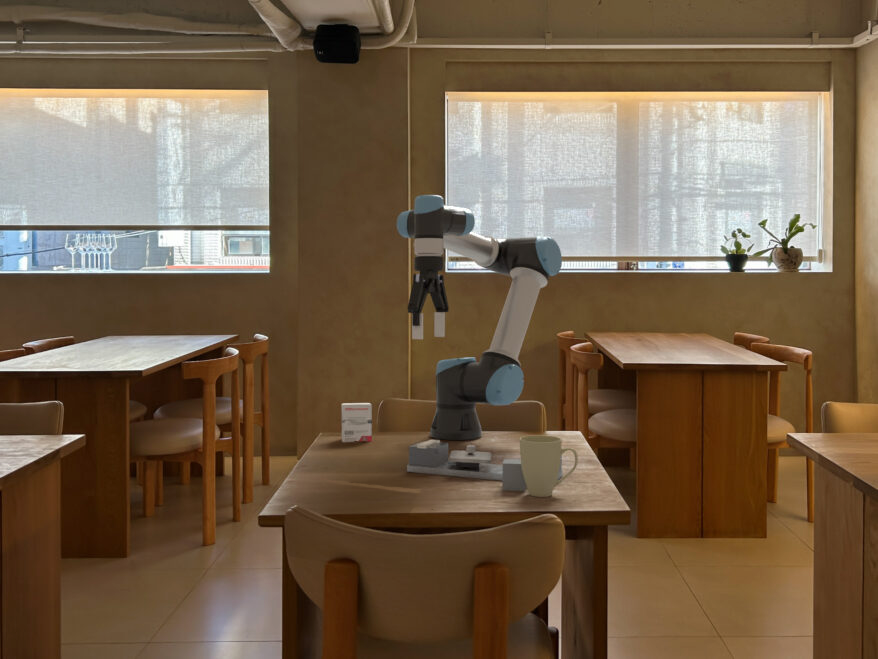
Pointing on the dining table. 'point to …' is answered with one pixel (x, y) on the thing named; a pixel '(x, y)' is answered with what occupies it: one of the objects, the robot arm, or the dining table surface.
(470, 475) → the rail
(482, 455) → the grey cover with knob
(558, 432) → the dining table surface
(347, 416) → the ink box
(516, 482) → the block
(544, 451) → the mug
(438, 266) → the robot arm
